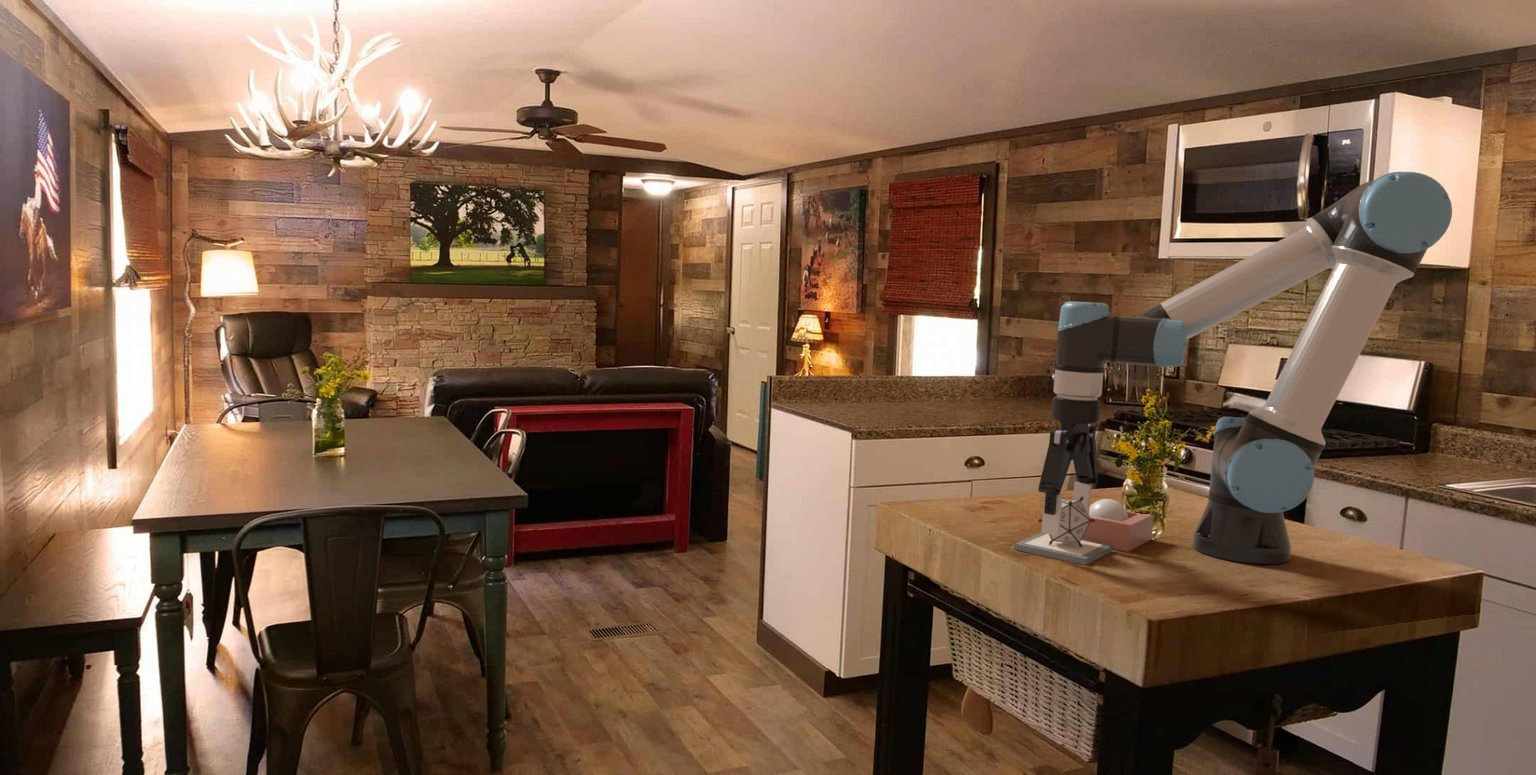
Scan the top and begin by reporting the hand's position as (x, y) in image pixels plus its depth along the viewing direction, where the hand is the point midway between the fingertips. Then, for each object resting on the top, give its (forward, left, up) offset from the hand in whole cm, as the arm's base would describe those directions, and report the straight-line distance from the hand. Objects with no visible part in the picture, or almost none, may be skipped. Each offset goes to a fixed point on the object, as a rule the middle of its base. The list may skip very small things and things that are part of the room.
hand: (1065, 527), depth 173 cm
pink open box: (-2, -14, -4) cm, 15 cm away
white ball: (-2, -14, -5) cm, 15 cm away
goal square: (0, 0, -4) cm, 4 cm away
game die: (0, 0, -3) cm, 3 cm away
